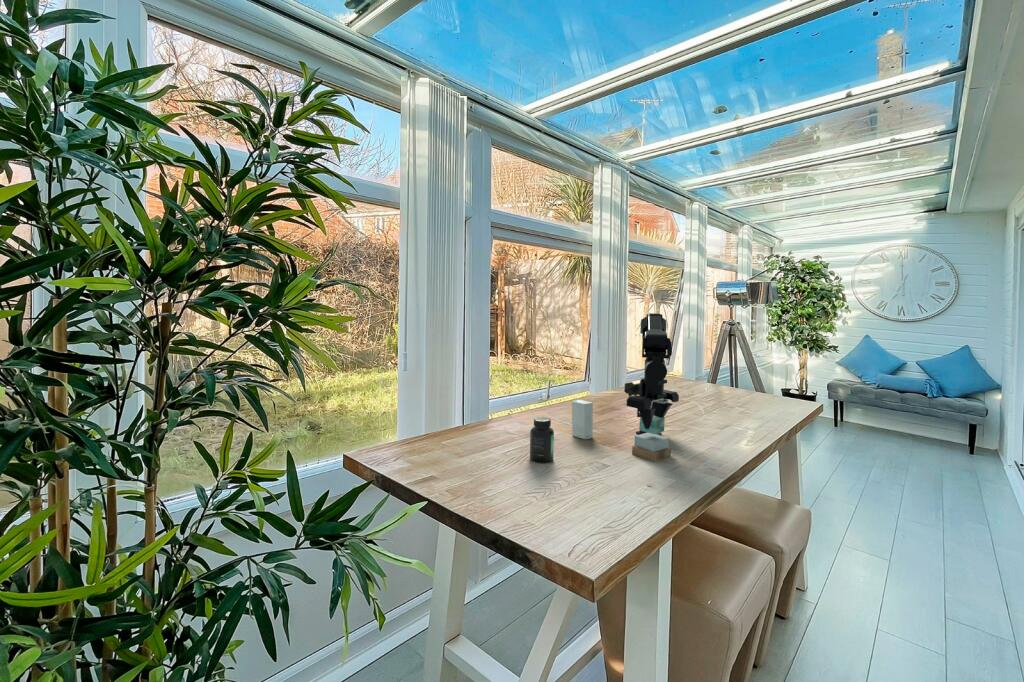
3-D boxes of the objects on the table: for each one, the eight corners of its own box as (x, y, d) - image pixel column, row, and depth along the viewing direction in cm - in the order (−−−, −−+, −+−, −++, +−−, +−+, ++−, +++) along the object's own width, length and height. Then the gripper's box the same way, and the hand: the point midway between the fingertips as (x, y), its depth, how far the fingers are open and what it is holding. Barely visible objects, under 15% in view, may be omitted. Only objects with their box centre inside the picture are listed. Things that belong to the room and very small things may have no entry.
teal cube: (649, 427, 140) (650, 414, 140) (664, 431, 137) (664, 418, 136) (639, 430, 137) (640, 417, 137) (654, 434, 133) (654, 420, 133)
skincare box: (593, 437, 154) (594, 402, 153) (584, 440, 151) (585, 404, 150) (579, 433, 159) (580, 399, 158) (570, 435, 156) (571, 400, 155)
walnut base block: (647, 450, 143) (648, 441, 143) (670, 457, 137) (671, 448, 137) (631, 455, 138) (632, 446, 138) (655, 463, 132) (655, 453, 132)
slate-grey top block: (648, 441, 143) (649, 432, 142) (668, 447, 137) (668, 438, 137) (634, 445, 139) (634, 435, 138) (653, 451, 133) (654, 441, 133)
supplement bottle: (558, 461, 131) (559, 420, 130) (538, 465, 128) (539, 423, 127) (544, 454, 137) (545, 414, 136) (525, 457, 134) (525, 417, 133)
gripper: (649, 369, 148) (647, 416, 149) (612, 375, 136) (610, 426, 137) (680, 374, 139) (678, 424, 140) (644, 380, 127) (642, 435, 129)
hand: (651, 427), depth 137 cm, fingers closed on teal cube, 5 cm apart
